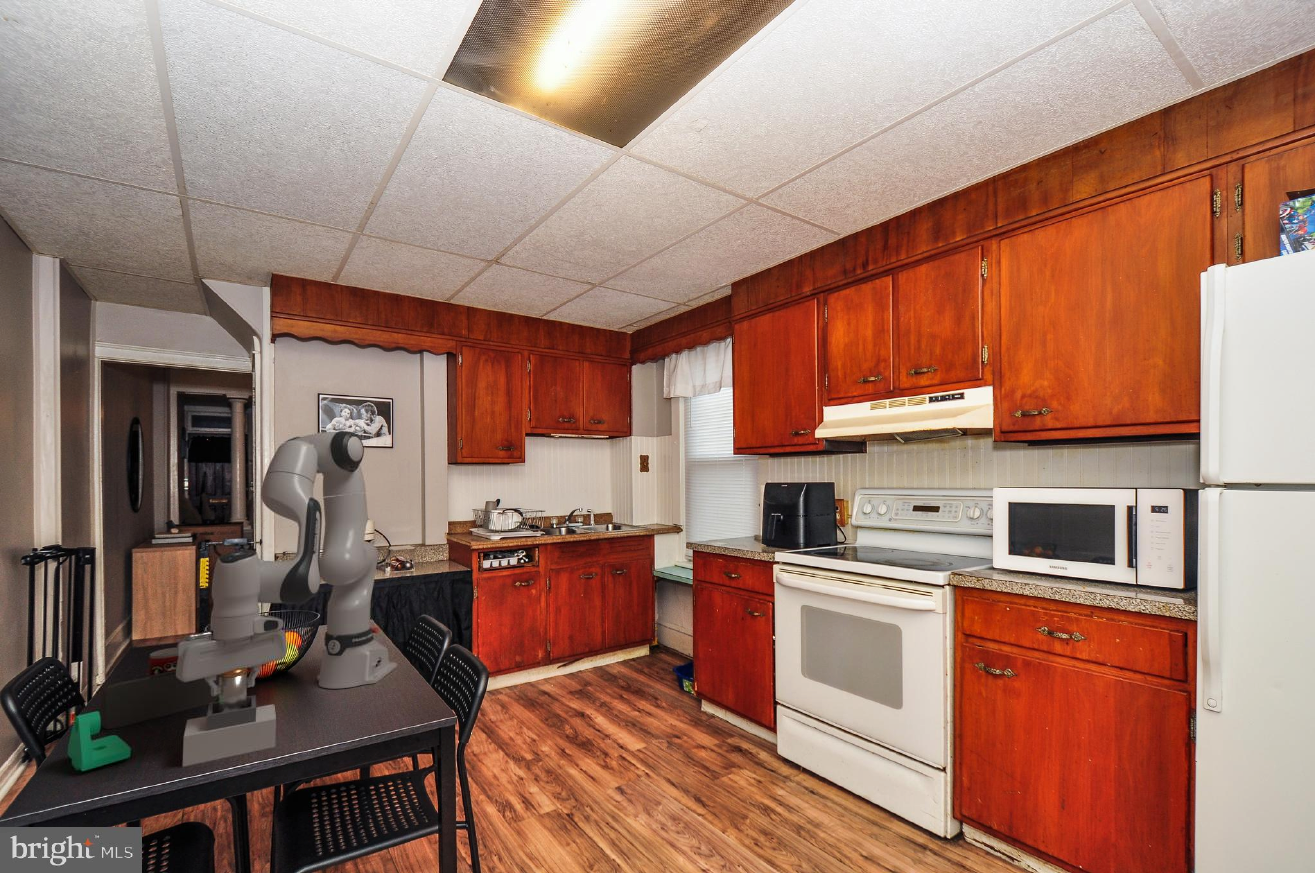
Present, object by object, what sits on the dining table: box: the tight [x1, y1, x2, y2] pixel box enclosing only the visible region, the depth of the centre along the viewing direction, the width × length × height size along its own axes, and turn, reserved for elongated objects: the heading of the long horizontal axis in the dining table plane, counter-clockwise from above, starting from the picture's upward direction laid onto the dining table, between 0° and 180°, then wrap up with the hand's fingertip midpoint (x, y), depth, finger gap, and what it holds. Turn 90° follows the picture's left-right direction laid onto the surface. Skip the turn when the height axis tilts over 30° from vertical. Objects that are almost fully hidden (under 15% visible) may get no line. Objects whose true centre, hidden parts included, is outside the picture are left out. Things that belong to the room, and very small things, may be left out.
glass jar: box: [218, 668, 248, 713], centre depth 134 cm, size 5×5×10 cm
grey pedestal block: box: [182, 694, 277, 768], centre depth 134 cm, size 16×10×9 cm, turn 124°
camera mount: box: [67, 710, 132, 772], centre depth 128 cm, size 12×8×10 cm, turn 54°
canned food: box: [148, 647, 178, 676], centre depth 166 cm, size 8×8×11 cm
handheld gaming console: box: [100, 670, 220, 730], centre depth 152 cm, size 23×3×10 cm, turn 143°
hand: (233, 690), depth 134 cm, fingers closed on glass jar, 5 cm apart
